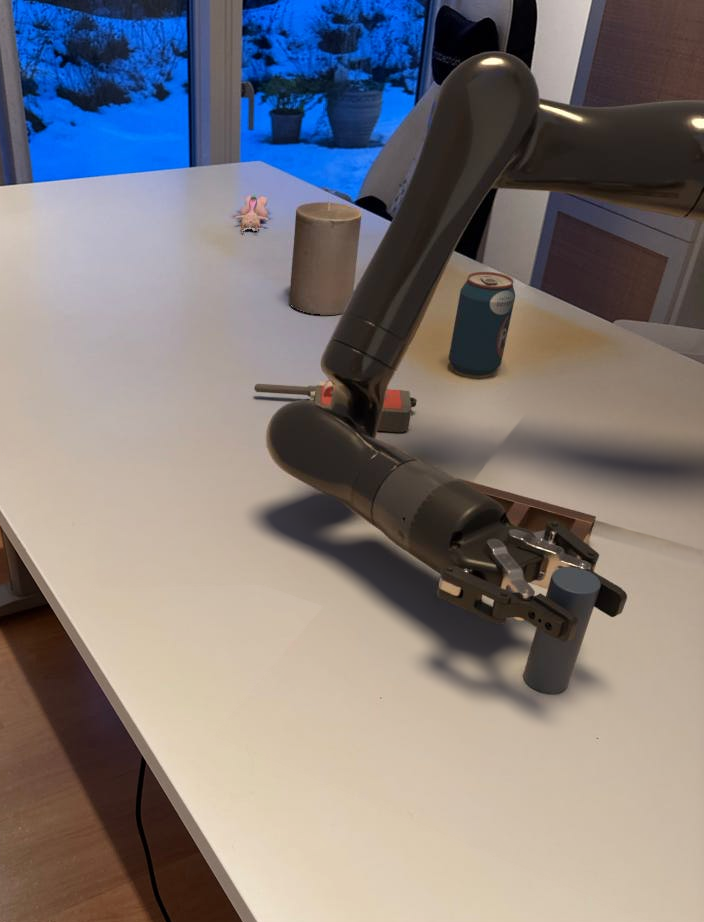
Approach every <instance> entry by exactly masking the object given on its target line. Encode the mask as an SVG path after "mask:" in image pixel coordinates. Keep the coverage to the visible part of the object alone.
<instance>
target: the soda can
mask: <svg viewBox="0 0 704 922" xmlns="http://www.w3.org/2000/svg"><path fill="white" fill-rule="evenodd" d="M466 279H467V280H466V281H465V282H464V284H463V286H462V287H461V288H460V291H459V296H458V303H457V308H456V314H455V320H454V324H453V330H452V335H451V342H450V348H449V353H448V361H449V363H450V366H451V368H452V370H453V371H454V372H455V373H456V374H458V375H461V376H464V377H467V378H477V379H479V378H480V379H481V378H487V377H490V376H492V375H494V373H495V372H496V371H497V370H498V369H499V368H500V366H501V365H502V362H503V356H504V353H505V346H506V343H507V337H508V334H509V333H508V332H509V328H510V323H511V319H512V315H513V309H514V305H515V299H516V291H515V288H514V279H513V278H511V277H510V276H509V275H506V274H503V273H499V272H494V271H493V272H492V271H477V272H472V273H469V274H468V276H467V278H466Z"/></svg>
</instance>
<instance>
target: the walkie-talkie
mask: <svg viewBox="0 0 704 922" xmlns="http://www.w3.org/2000/svg"><path fill="white" fill-rule="evenodd" d="M254 391H255V392H256V393H265V394H266V393H268V394H280V395H281V394H282V395H283V394H284V395H296V396H297V395H298V396H300V395H301V396H307V397H309V400H308V401H312V402H315V403H318V404H320V405H322V406H324V407H326V408H328V409H329V406H330V402H331V397H332V392H333V385H332V382H331V381H330V380H329V379H328V380H327V381H323V380H319V381H318V385H307V386H302V385H298V386H297V385H285V384H271V383H270V384H269V383H256V384H255V385H254ZM410 393H411V392H410V390H404V389H390V388H389V389H388V388H387V392H386V397H385V402H384V407H383V411H382V415H381V418H380V422H379V426H378V430H377V432H389V433H404V432H405V431H409V427H410V421H411V416H412V415H411V414H412V408H415V407H416V406H417V398H414V397H411V394H410Z"/></svg>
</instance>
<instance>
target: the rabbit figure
mask: <svg viewBox="0 0 704 922" xmlns="http://www.w3.org/2000/svg"><path fill="white" fill-rule="evenodd" d="M244 203H245V204H244V207H243V208H242V209H241V210H240V215H236V216H235V220H239V219H241V223H240V227H242V228H240V231H241V230H244V228H249V227H251V228H255V231H257V228H261V221H265V222H269V218H268V217H267V216H268V215H269V213H268V211H267V209H266V206H267V204H268V198H267V197H266V196H260V197H258V198H257V196H256V195H255V194H252V195H247V197H246V198H245V200H244ZM260 220H261V221H260Z"/></svg>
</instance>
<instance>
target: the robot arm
mask: <svg viewBox="0 0 704 922" xmlns="http://www.w3.org/2000/svg"><path fill="white" fill-rule="evenodd" d="M428 117H429V118H428V122H427V126H426V134H425V138H424V142H423V145H422V148H421V151H420V155H419V157H418V160H417V163H416V165H415V167H414V170H413V173H412V175H411V178H410V180H409V183H408V185H407V187H406V190H405V192H404V194H403V197H402V199H401V201H400V203H399V205H398V207H397V210H396V212H395V213H394V216H393V217H392V220H391V222H390V223H389V226H388V228H387V230H386V232H385V234H384V236H383V237H382V240H381V241H380V243H379V244H378V247H377V248H376V250H375V251H374V254H373V256H372V258H371V260H370V261H369V263H368V265H367V267H366V269H365V270H364V272H363V274H362V275H361V278H360V279H359V281H358V283H357V284H356V287H355V289H353V294H352V296H351V298H350V300H349V302H348V304H347V306H346V308H345V310H344V312H343V313H342V314H341V316H340V318H339V319H338V322H337V324H336V325H335V327H334V330H333V332H332V334H331V336H330V339H329V340H328V342H327V344H326V346H325V348H324V349H323V353H322V355H321V358H320V369H321V371H322V373H323V374H324V375H325V377H326V378H327V379H328V381H329V380H330V381H331V382H332V385H333V392H332V397H331V402H330V406H329V409H328V408H326V407H324V406H322V405H320V404H318V403H315V402H312V401H309V400H306V399H300V400H293V401H290V402H288V403H286V404H284V405H282V406H281V407H280V408H278V409H277V410H276V411H275V412H274V414H273V415H272V416H271V417H270V420H269V422H268V424H267V427H266V433H265V444H266V449H267V452H268V454H269V456H270V458H271V460H272V461H273V462H274V464H275V465H276V466H277V467H278V468H279V469H280V470H282V471H283V472H284V473H286V474H288V475H290V476H291V477H292V478H295V479H297V480H298V481H300V482H302V483H303V484H306V485H308V486H310V487H312V488H314V489H315V490H317V491H319V492H321V493H322V494H325V495H327V496H330V497H331V498H333V499H335V500H336V501H337V502H339V503H341V504H343V505H344V506H345V507H346V508H348V509H349V510H350V511H351V512H353V513H354V514H355V515H357V516H358V517H359V518H361V519H363V520H364V521H366V522H367V523H369V524H370V525H372V526H373V527H374V528H376V529H378V530H379V531H380V532H381V533H383V534H384V535H385V536H386V537H387V538H388V539H389V540H390V541H391V542H392V543H394V544H395V545H396V546H398V547H399V548H401V549H402V550H403V551H404V552H407V553H408V554H410V555H411V556H413V557H414V558H415V559H417V560H418V561H420V562H422V563H423V564H425V565H426V566H427V567H429V568H430V569H432V570H434V571H435V572H437V573H438V574H440V576H439V581H438V586H437V591H436V595H437V596H438V597H439V598H441V599H443V600H445V601H447V602H449V603H451V604H453V605H455V606H457V607H459V608H462V609H463V610H465V611H468V612H470V613H472V614H474V615H476V616H479V617H480V618H483V619H485V620H487V621H488V622H491V623H493V624H495V625H503V624H505V623H506V621H507V619H512V618H513V619H514V620H516V621H519V622H523V621H527V622H528V623H529V624H531V625H533V626H534V627H536V628H540V630H542V631H544V632H545V633H546V634H548V635H549V636H551V637H554V638H557V639H559V640H560V641H562V642H566V641H568V640H570V639H572V638H573V637H574V635H575V632H576V629H577V625H578V618H577V617H576V615H574V614H573V613H571V612H569V611H568V610H566V609H565V608H563V607H561V606H560V605H558V604H557V603H555V602H554V601H552V600H550V599H549V598H547V597H546V595H544V594H542V593H541V592H540V593H538V594H536V591H535V590H534V588H533V587H532V586H531V585H534V586H537V587H540V588H543V589H547V590H548V587H549V583H550V580H551V576H552V573H553V572H554V571H555V570H557V569H559V567H560V566H562V567H576V568H581V569H584V570H586V571H589V572H591V573H592V574H594V575H595V576H596V577H597V578H598V579H599V581H600V584H601V587H600V590H599V593H598V596H597V599H596V602H595V605H594V608H595V609H597V610H599V611H600V612H602V613H603V614H606V615H607V616H609V617H610V618H615V617H616V616H619V615H621V614H622V613H623V611H624V609H625V605H626V602H627V599H628V594H627V592H626V591H625V590H624V589H623V588H622V587H620V586H619V585H617V584H615V583H614V582H612V581H610V580H609V579H607V578H605V577H603V576H602V575H600V574H599V573H596V572H595V569H596V566H597V562H599V561H598V560H599V559H600V558H599V557H600V553H598V551H597V550H595V549H594V548H592V547H591V546H590V545H589V544H586V543H585V542H583V541H582V540H581V539H580V538H578V537H577V536H576V535H575V534H573V533H572V532H571V531H569V530H568V529H567V528H566V527H564V526H563V525H562V524H561V523H559V522H557V521H549V522H547V525H546V529H545V530H543V531H539V532H534V533H533V532H531V531H530V530H528V529H525V528H521V527H518V526H515V525H512V524H511V523H510V521H509V519H508V517H507V515H506V513H505V510H504V508H503V507H502V505H501V504H500V503H498V502H497V501H495V500H493V499H492V498H490V497H488V496H486V495H485V494H483V493H481V492H479V491H478V490H476V489H474V488H472V487H471V486H469V485H467V484H465V483H464V482H462V481H460V480H458V479H457V478H458V477H455V476H453V475H452V474H449V473H448V472H447V471H444V470H442V469H440V468H438V467H436V466H433V465H430V464H427V463H425V462H423V461H421V460H420V459H417V458H416V457H415V456H413V455H411V454H409V453H407V452H405V451H403V450H402V449H400V448H397V447H396V446H394V445H392V444H389V443H387V442H384V441H382V440H379V439H377V438H376V436H377V433H378V431H377V430H378V426H379V422H380V418H381V415H382V411H383V407H384V402H385V397H386V392H387V389H388V388H389V385H390V383H391V381H392V380H393V378H394V377H395V374H396V372H397V371H398V370H399V366H400V364H401V363H402V361H403V359H404V357H405V355H406V353H407V352H408V350H409V347H410V345H411V343H412V342H413V339H414V338H415V336H416V334H417V333H418V329H419V328H420V326H421V324H422V322H423V320H424V317H425V315H426V313H427V311H428V308H429V307H430V304H431V302H432V300H433V297H434V295H435V293H436V291H437V288H438V286H439V283H440V281H441V279H442V277H443V275H444V274H445V271H446V268H447V266H448V264H449V262H450V260H451V258H452V256H453V254H454V252H455V250H456V248H457V246H458V243H459V242H460V240H461V238H462V236H463V235H464V232H465V231H466V229H467V228H468V226H469V224H470V222H471V220H472V219H473V217H474V215H476V214H475V213H476V212H477V211H478V209H479V208H480V206H481V204H482V203H483V201H484V199H485V198H486V197H487V195H488V194H489V192H490V191H491V189H500V190H501V189H502V190H503V189H505V190H521V191H522V190H523V191H539V192H551V193H552V192H553V193H561V194H562V193H564V194H570V195H576V196H580V197H584V198H588V199H593V200H596V201H600V202H604V203H608V204H613V205H617V206H622V207H628V208H631V209H636V210H641V211H647V212H652V213H657V214H661V215H662V214H663V215H666V216H671V217H675V218H682V219H686V220H692V221H693V220H694V221H700V222H704V100H699V99H697V100H696V99H684V100H666V101H654V102H644V103H635V104H628V105H627V104H626V105H618V106H603V107H601V106H600V107H597V106H595V107H593V106H581V105H573V104H569V103H565V102H559V101H555V100H549V99H545V98H541V97H540V91H539V86H538V84H537V81H536V78H535V76H534V74H533V72H532V70H531V69H530V68H529V67H528V65H527V64H526V63H525V62H524V61H523V60H522V59H520V58H519V57H517V56H516V55H513V54H510V53H507V52H505V51H497V50H496V51H495V50H494V51H483V52H481V53H479V54H476V55H473V56H471V57H469V58H467V59H466V60H464V61H462V62H461V63H459V64H458V65H457V66H456V67H455V68H454V69H452V71H450V73H449V74H448V75H447V76H446V78H445V79H444V80H443V81H442V83H441V85H440V87H439V88H438V90H437V91H436V93H435V97H434V99H433V102H432V105H431V109H430V113H429V116H428ZM544 556H545V557H547V558H548V561H549V562H548V566H547V569H546V572H542V571H541V568H542V564H543V561H544ZM577 556H580V559H578V558H577ZM530 584H531V585H530ZM535 594H536V595H535ZM483 596H484V597H487V598H488V599H490V600H493V603H492V605H490V604H488V603H486V602H484V601H483Z"/></svg>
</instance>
